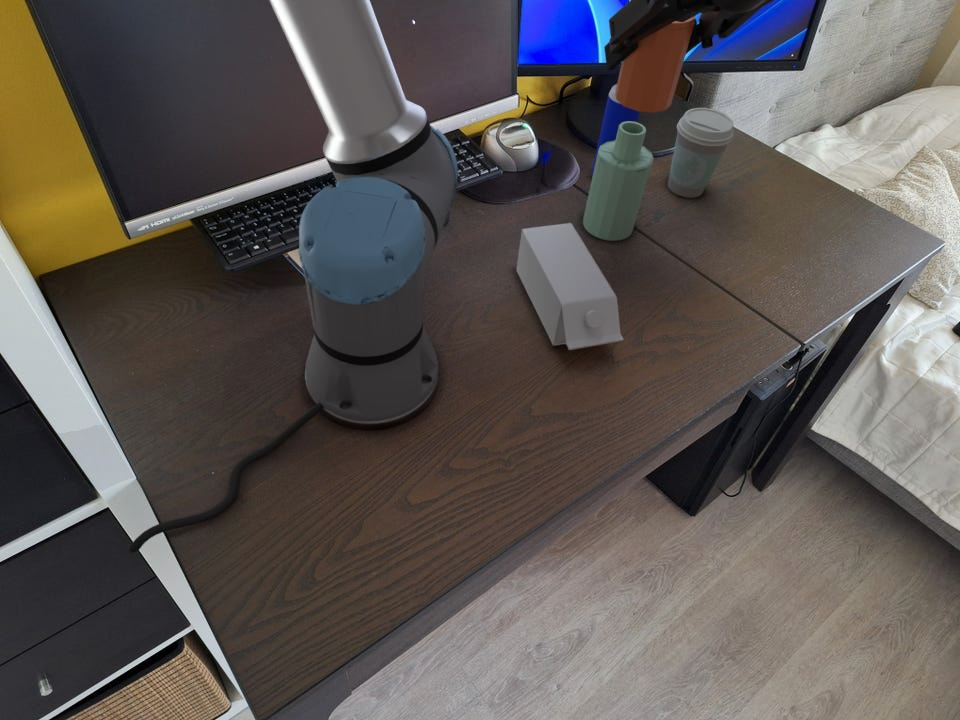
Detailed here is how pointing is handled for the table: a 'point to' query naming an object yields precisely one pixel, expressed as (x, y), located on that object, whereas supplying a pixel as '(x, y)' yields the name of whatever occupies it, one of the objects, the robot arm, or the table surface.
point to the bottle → (618, 184)
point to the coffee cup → (698, 150)
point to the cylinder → (654, 68)
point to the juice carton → (567, 287)
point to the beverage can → (614, 119)
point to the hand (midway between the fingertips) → (637, 56)
